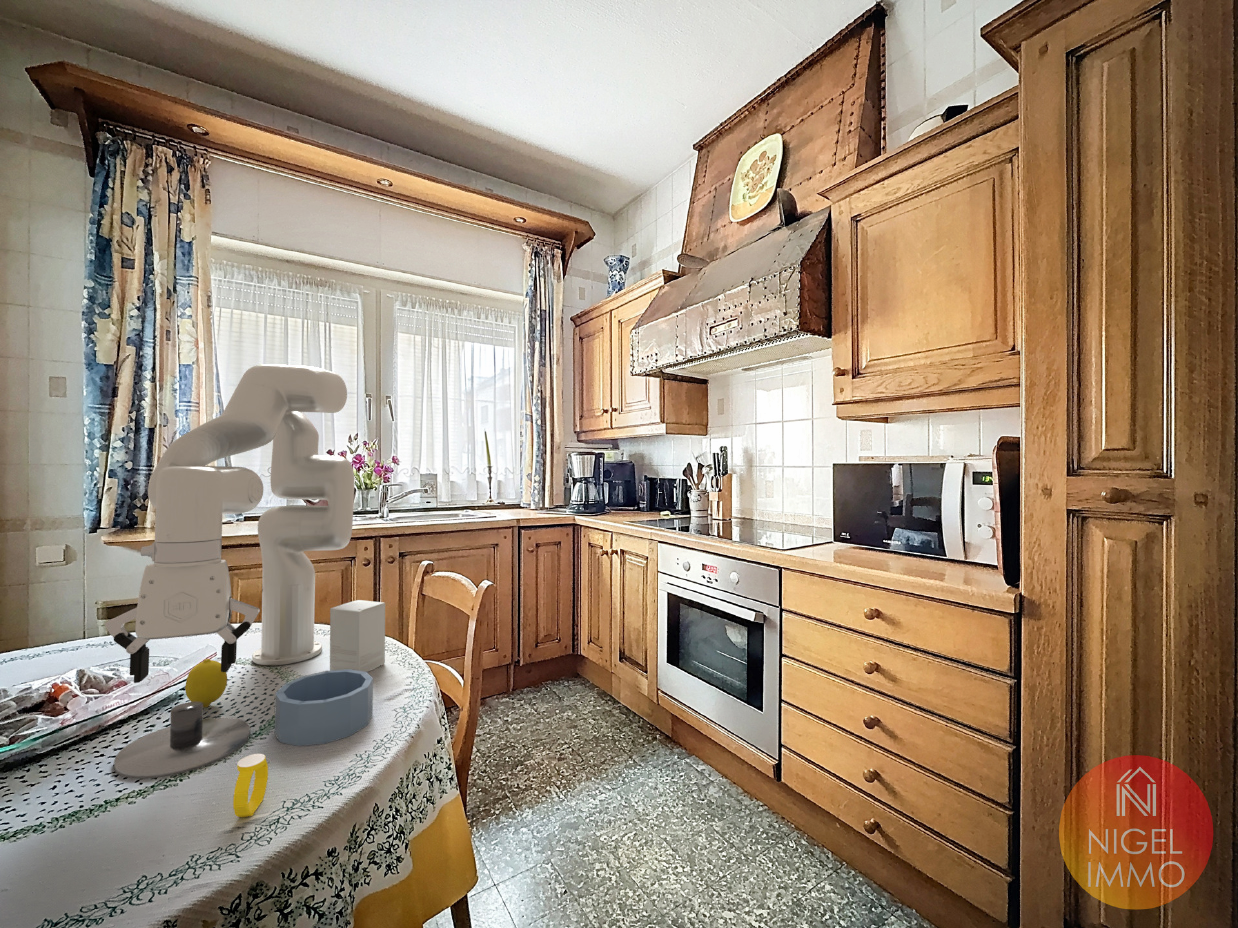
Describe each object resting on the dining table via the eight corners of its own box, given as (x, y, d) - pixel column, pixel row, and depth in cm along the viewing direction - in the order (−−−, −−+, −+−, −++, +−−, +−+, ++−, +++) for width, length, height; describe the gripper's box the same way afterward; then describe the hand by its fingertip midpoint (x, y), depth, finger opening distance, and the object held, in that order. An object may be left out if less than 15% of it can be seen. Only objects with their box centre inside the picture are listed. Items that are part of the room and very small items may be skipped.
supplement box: (386, 663, 110) (387, 602, 110) (357, 677, 103) (358, 611, 103) (357, 659, 112) (358, 598, 112) (327, 671, 105) (328, 607, 105)
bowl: (294, 708, 89) (295, 672, 89) (378, 702, 92) (379, 667, 92) (261, 749, 77) (261, 707, 77) (359, 740, 79) (360, 699, 79)
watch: (254, 825, 61) (253, 775, 61) (226, 828, 60) (225, 778, 60) (274, 790, 67) (274, 744, 67) (249, 793, 66) (248, 746, 66)
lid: (157, 729, 82) (158, 689, 82) (267, 721, 86) (267, 682, 86) (84, 787, 68) (85, 737, 68) (219, 774, 71) (220, 727, 71)
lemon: (204, 716, 86) (205, 666, 86) (176, 712, 87) (176, 663, 87) (235, 701, 92) (235, 654, 92) (208, 698, 93) (209, 651, 93)
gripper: (96, 560, 70) (92, 693, 69) (256, 553, 77) (253, 673, 77) (120, 552, 76) (116, 674, 76) (264, 547, 84) (261, 657, 83)
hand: (184, 674), depth 76 cm, fingers open, 9 cm apart
